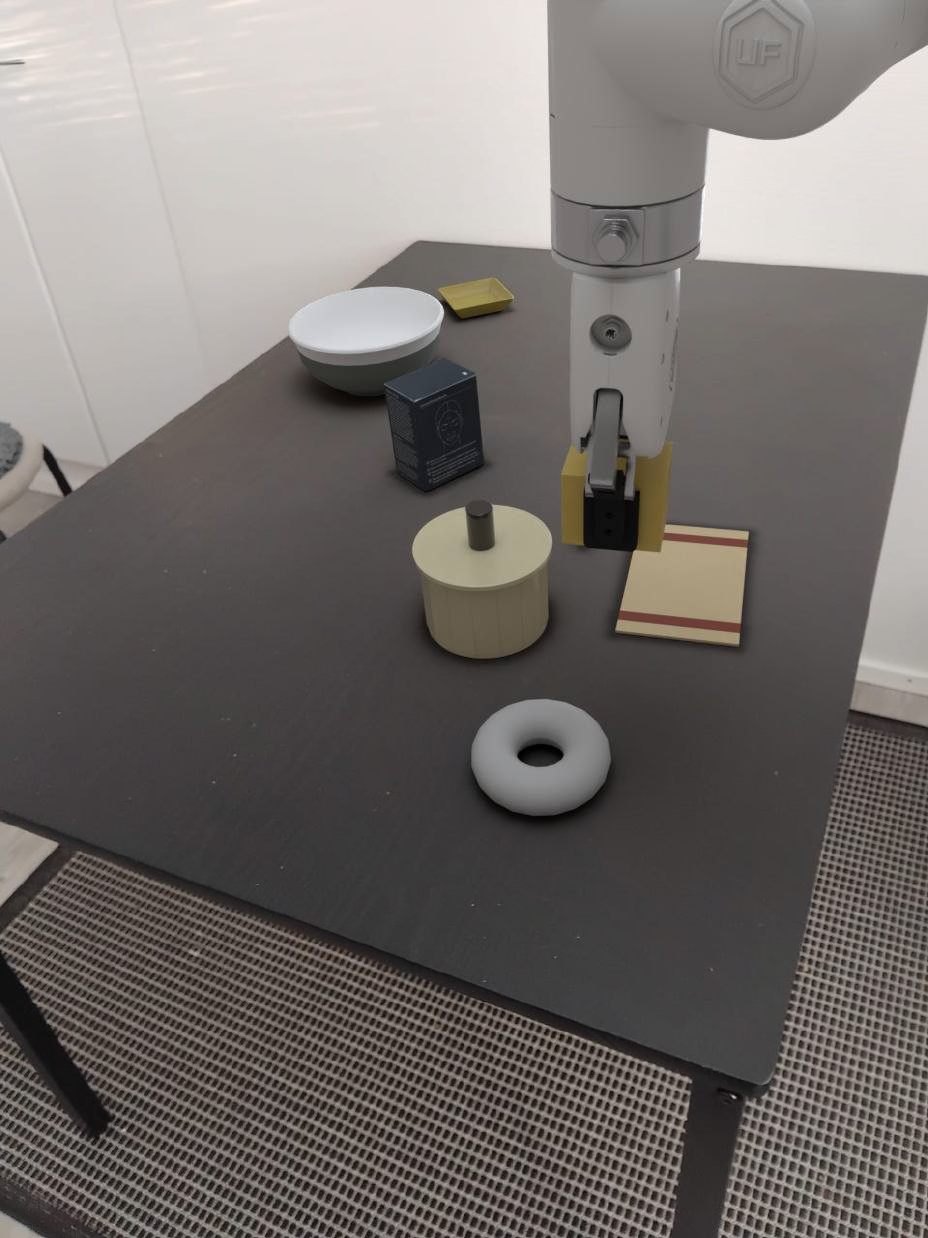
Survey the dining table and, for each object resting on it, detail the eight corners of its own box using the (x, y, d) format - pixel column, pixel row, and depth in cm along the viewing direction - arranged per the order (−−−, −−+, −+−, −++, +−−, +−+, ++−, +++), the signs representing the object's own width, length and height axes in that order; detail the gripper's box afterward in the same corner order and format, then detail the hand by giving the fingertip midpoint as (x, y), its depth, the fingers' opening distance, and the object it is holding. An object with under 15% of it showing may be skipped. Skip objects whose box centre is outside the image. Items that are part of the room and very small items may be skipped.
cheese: (668, 511, 62) (673, 441, 59) (660, 552, 59) (665, 481, 55) (574, 503, 63) (574, 435, 60) (561, 543, 60) (560, 474, 57)
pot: (544, 577, 88) (542, 508, 83) (552, 655, 80) (550, 583, 75) (429, 584, 89) (421, 516, 84) (425, 662, 81) (416, 591, 76)
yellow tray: (437, 301, 139) (436, 287, 137) (495, 290, 140) (494, 275, 139) (455, 324, 132) (454, 309, 131) (515, 312, 134) (515, 297, 132)
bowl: (412, 425, 112) (404, 357, 106) (271, 407, 118) (257, 342, 112) (472, 354, 125) (467, 291, 119) (342, 341, 131) (332, 280, 125)
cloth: (748, 533, 91) (748, 531, 91) (738, 647, 79) (739, 644, 79) (640, 524, 93) (640, 521, 93) (615, 632, 82) (615, 629, 82)
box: (453, 446, 107) (445, 355, 101) (485, 465, 104) (478, 373, 97) (394, 472, 104) (381, 381, 97) (425, 493, 100) (413, 400, 94)
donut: (638, 767, 71) (535, 700, 76) (641, 735, 68) (535, 668, 74) (546, 852, 66) (443, 774, 71) (545, 820, 63) (439, 742, 69)
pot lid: (548, 510, 84) (546, 464, 81) (557, 593, 75) (556, 545, 72) (416, 519, 85) (410, 473, 82) (410, 602, 76) (403, 554, 73)
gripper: (687, 289, 42) (663, 615, 54) (714, 170, 54) (689, 456, 66) (516, 285, 44) (529, 601, 56) (579, 170, 56) (579, 448, 68)
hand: (616, 519), depth 61 cm, fingers closed on cheese, 4 cm apart
